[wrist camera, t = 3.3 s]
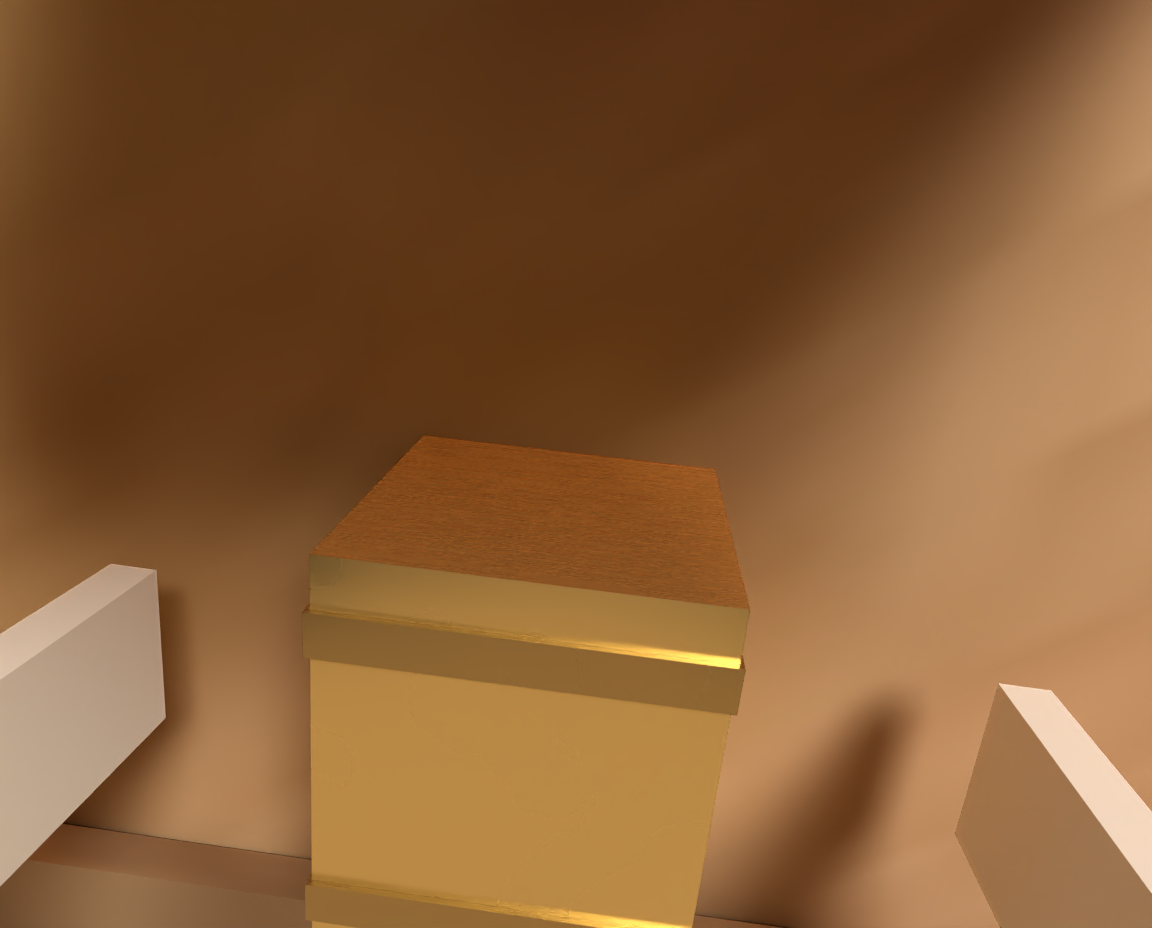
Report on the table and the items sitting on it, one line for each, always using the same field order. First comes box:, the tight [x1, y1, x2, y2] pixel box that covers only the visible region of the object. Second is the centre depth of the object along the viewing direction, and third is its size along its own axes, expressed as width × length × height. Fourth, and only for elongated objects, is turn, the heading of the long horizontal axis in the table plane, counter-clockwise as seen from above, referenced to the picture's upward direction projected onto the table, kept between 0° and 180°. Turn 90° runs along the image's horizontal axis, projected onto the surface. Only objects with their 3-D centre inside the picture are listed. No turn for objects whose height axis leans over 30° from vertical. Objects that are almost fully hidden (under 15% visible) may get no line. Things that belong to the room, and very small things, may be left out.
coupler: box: [302, 435, 750, 928], centre depth 12 cm, size 6×5×5 cm
